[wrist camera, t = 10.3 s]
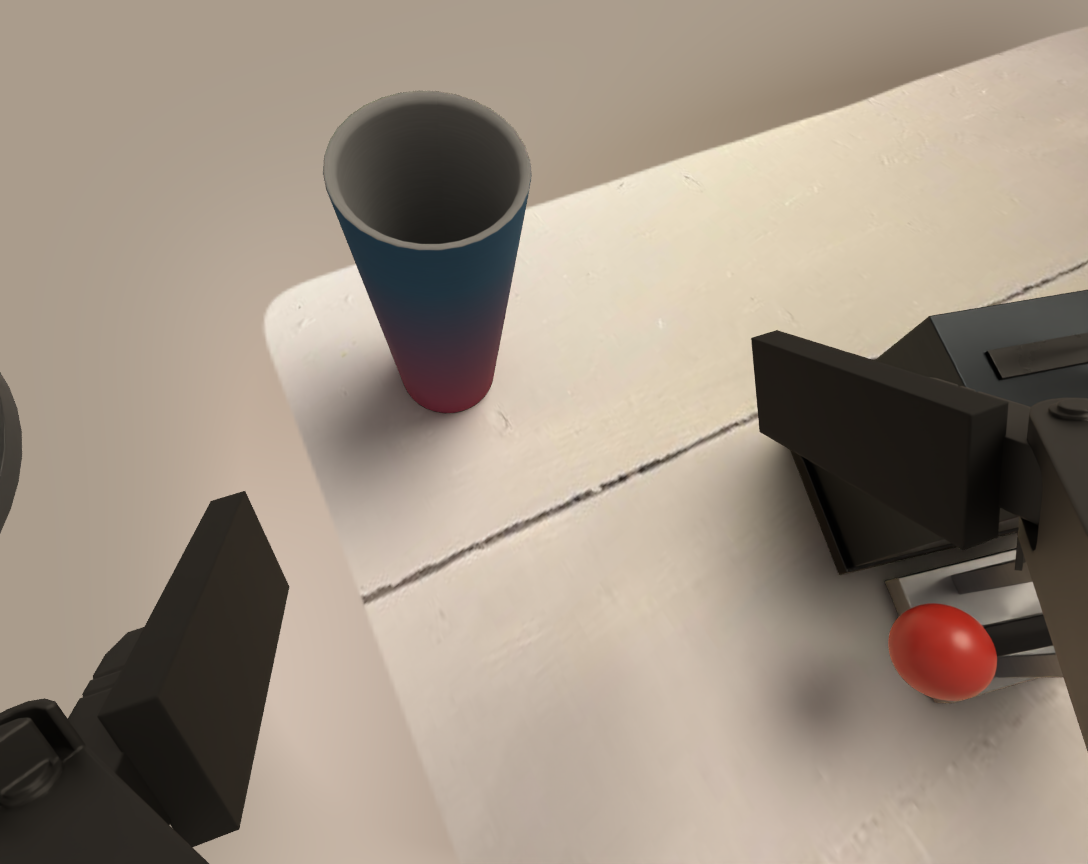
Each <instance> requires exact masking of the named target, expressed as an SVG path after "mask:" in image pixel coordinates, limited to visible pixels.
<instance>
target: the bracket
mask: <svg viewBox="0 0 1088 864" xmlns="http://www.w3.org/2000/svg"><path fill="white" fill-rule="evenodd" d="M1016 549H1017V548H1015V549H1011V550H1007V551H1003V552H999V553H995V554H991V555H987V556H983V557H979V558H975V559H971V560H967V561H963V562H959V563H955V564H951V565H947V566H943V567H939V568H934V569H930V570H926V571H922V572H918V573H914V574H910V575H906V576H902V577H898V578H894V579H890V580H886V581H885V583H886V586H887V588H888V590H889V593H890V595H891V598H892V600H893V602H894V605H895V607H896V610H897V612H898V615H899V616H900V615H901V614H903V613H904V612H905V611H907V610H909V609H911V608H913V607H915V606H918V605H922V604H932V603H936V604H944V605H949V606H952V607H955V608H958V609H960V610H962V611H964V612H966V613H968V614H969V615H971V616H972V617H973V618H975V619H976V620H977V621H978V622H979V623H980V624H981V625H986V624H991V623H995V622H1000V621H1004V620H1009V619H1014V618H1018V617H1023V616H1027V615H1032V614H1037V613H1041V612H1042V609H1041V606H1040V603H1039V600H1038V597H1037V594H1036V591H1035V588H1034V585H1033V582H1032V578H1031V575H1030V572H1029V569H1028V566H1027V563H1026V562H1025V563H1023V568H1022V571H1019V570H1015V560H1016ZM1046 677H1063V674H1062V671H1061V668H1060V665H1059V662H1058V659H1057V656H1056V652H1055V649H1054V646H1049V647H1044V648H1039V649H1034V650H1029V651H1024V652H1019V653H1014V654H1009V655H1004V656H999V657H997V668H996V672H995V675H994V677H993V679H992V681H991V683H990V684H989V685H988V686H987V688H986V689H984V690H983V691H982V692H981V693H979V694H977V695H976V696H978V695H982V694H985V693H989V692H992V691H995V690H999V689H1002V688H1006V687H1009V686H1012V685H1016V684H1019V683H1023V682H1026V681H1029V680H1033V679H1036V678H1046ZM974 697H975V696H974ZM933 699H934V701H935V702H936V703H954V702H958V701H946V700H939V699H935V698H933ZM959 701H961V700H959Z"/></svg>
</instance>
